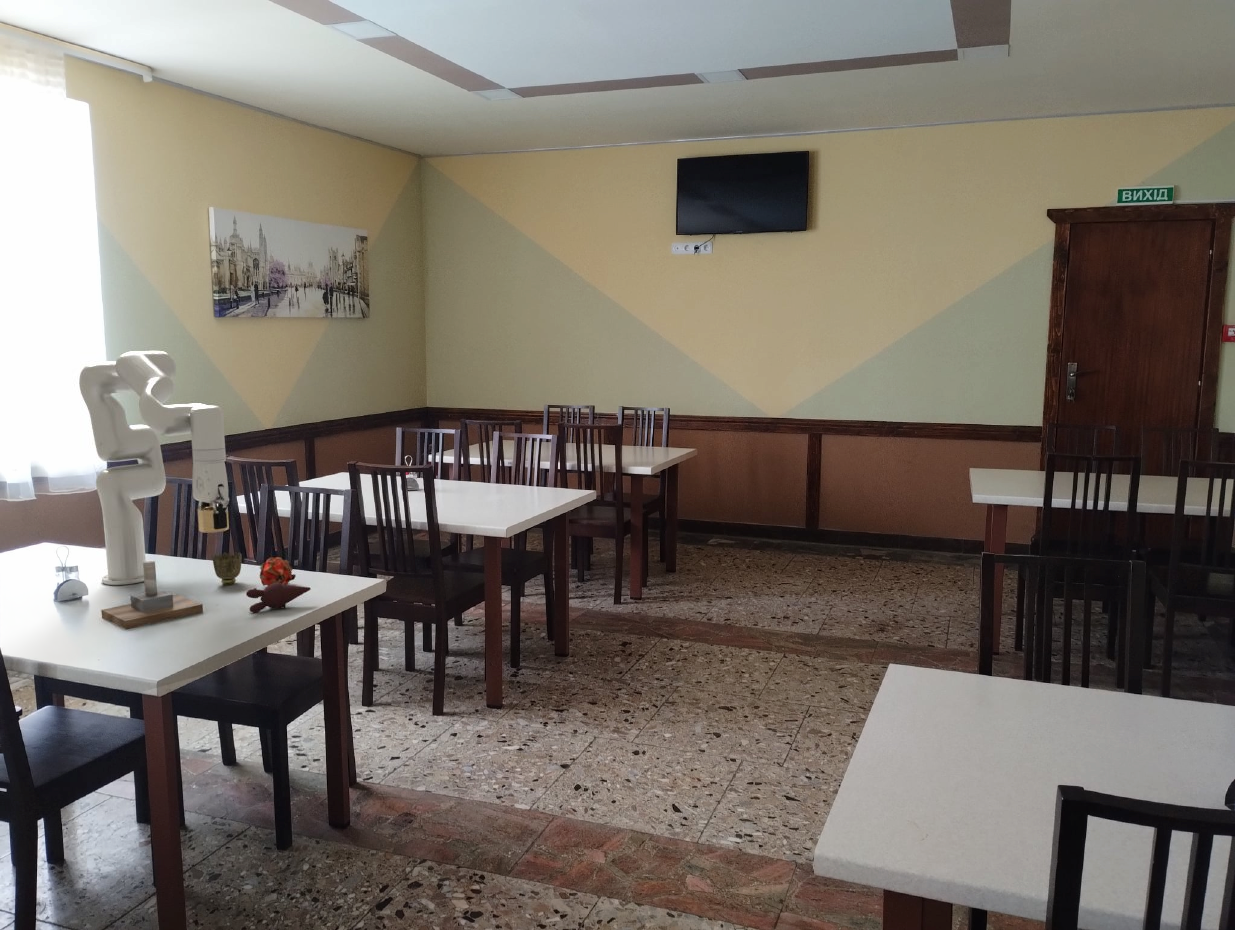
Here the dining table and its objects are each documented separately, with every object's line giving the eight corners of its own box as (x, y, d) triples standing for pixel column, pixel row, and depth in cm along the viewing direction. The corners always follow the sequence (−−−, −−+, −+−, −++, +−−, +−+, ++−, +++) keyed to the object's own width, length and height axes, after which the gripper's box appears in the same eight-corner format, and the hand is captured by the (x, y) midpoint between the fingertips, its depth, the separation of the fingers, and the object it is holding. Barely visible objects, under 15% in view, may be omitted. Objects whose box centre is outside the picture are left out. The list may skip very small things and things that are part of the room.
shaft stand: (101, 617, 227) (97, 564, 225) (177, 601, 240) (173, 551, 239) (125, 629, 218) (121, 574, 216) (203, 612, 231) (199, 559, 229)
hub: (195, 530, 237) (194, 508, 237) (220, 526, 242) (219, 505, 242) (207, 533, 233) (206, 511, 233) (232, 529, 238) (231, 507, 237)
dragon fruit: (275, 586, 261) (284, 602, 251) (248, 572, 256) (256, 588, 246) (294, 560, 261) (303, 576, 251) (267, 546, 257) (275, 561, 247)
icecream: (305, 575, 241) (243, 588, 234) (310, 574, 234) (246, 587, 227) (310, 602, 241) (248, 616, 233) (315, 601, 234) (252, 616, 227)
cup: (248, 580, 261) (246, 552, 260) (235, 587, 254) (233, 558, 252) (222, 580, 262) (220, 551, 260) (208, 587, 254) (206, 558, 253)
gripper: (178, 454, 238) (183, 524, 241) (210, 460, 227) (215, 533, 229) (207, 451, 244) (212, 520, 246) (240, 457, 232) (245, 528, 235)
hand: (213, 526), depth 238 cm, fingers closed on hub, 6 cm apart
